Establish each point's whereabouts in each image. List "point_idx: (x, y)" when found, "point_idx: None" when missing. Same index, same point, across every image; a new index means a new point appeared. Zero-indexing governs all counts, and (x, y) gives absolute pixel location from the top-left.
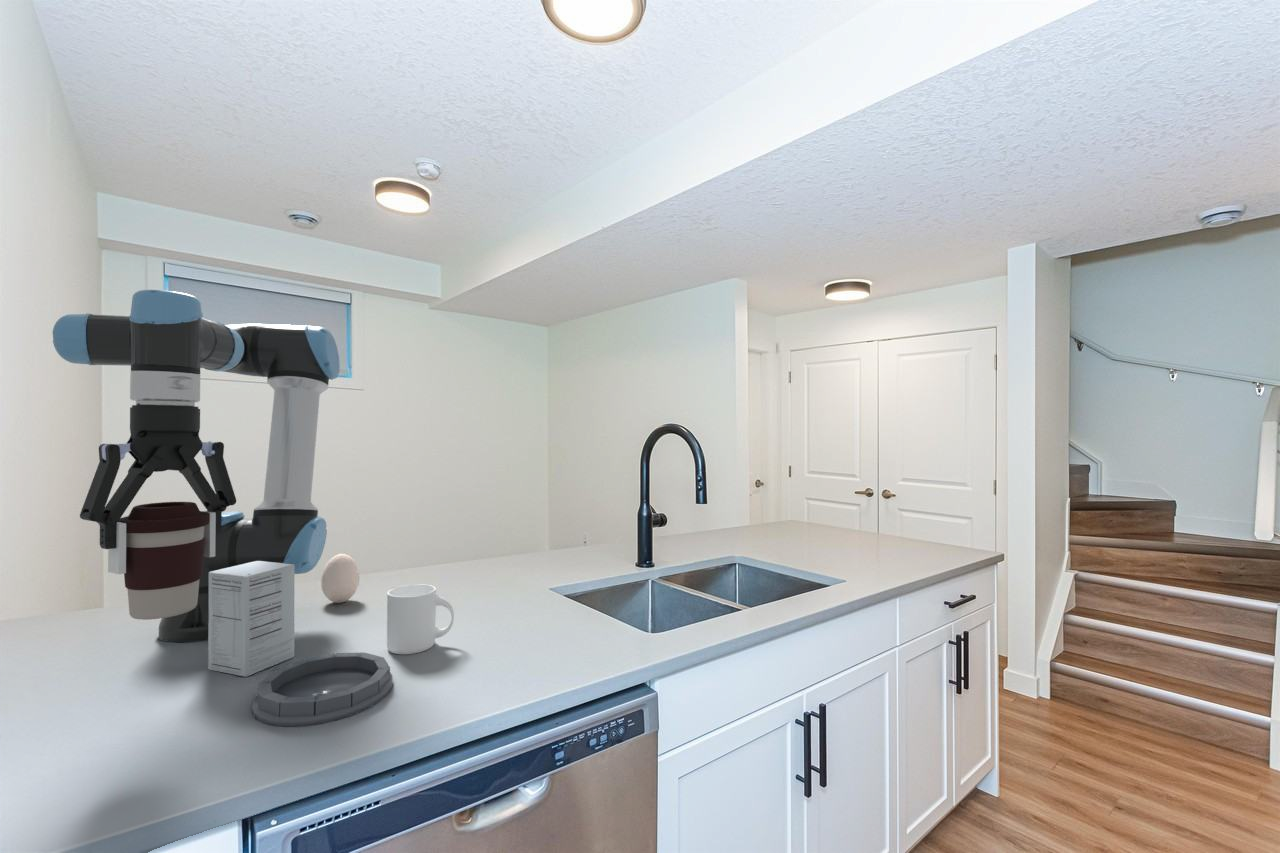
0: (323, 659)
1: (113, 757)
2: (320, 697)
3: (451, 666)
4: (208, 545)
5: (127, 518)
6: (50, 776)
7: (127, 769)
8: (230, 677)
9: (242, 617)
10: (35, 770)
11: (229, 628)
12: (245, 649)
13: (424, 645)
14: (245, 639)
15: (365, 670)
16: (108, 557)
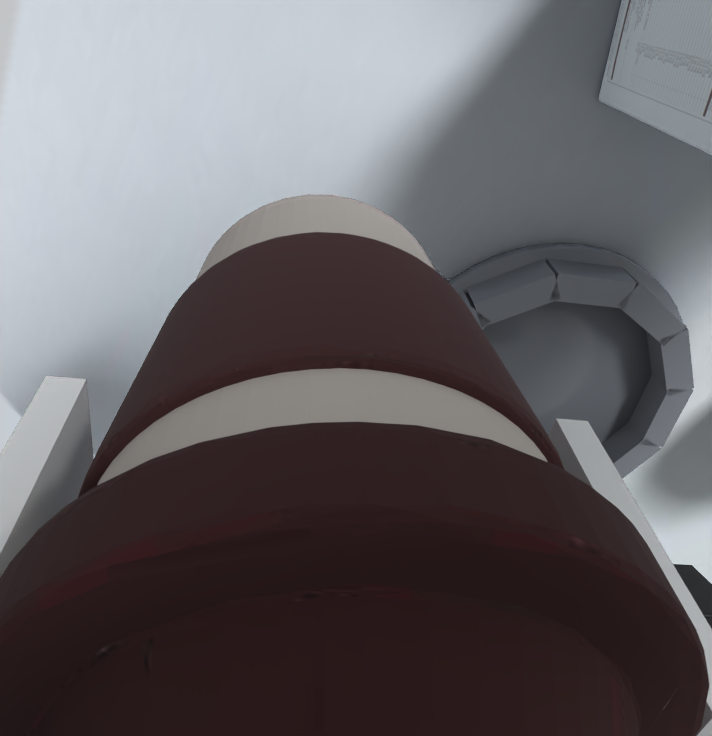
0: (644, 327)
1: (169, 215)
2: None
3: (696, 502)
4: None
5: (33, 733)
6: (62, 168)
7: (160, 291)
8: (594, 43)
9: (708, 126)
10: (50, 101)
11: (703, 30)
12: (638, 118)
13: None
14: (655, 126)
15: (639, 398)
16: (8, 445)
